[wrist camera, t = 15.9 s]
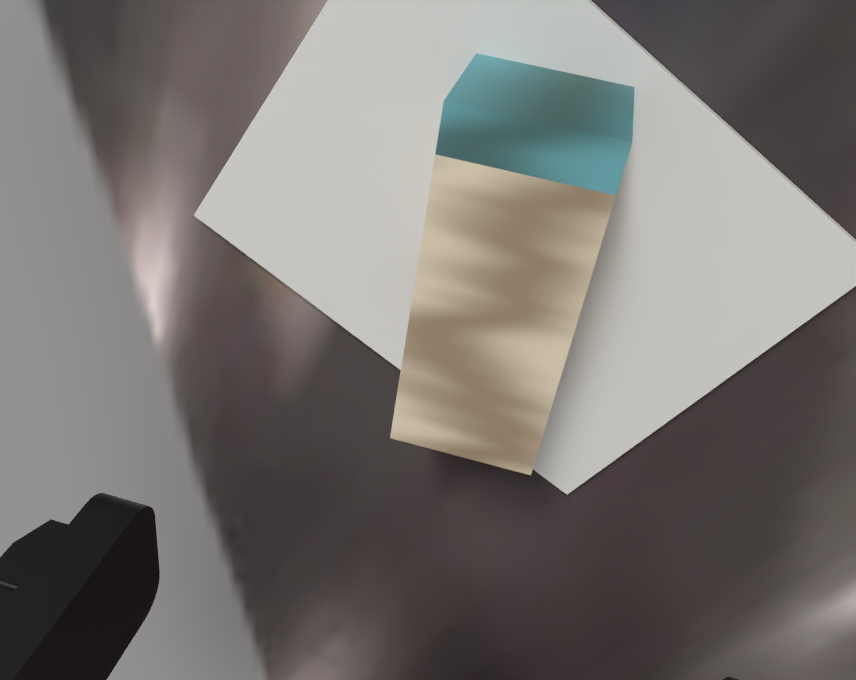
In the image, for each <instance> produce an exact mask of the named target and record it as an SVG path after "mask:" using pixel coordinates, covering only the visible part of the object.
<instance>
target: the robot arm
mask: <svg viewBox="0 0 856 680" xmlns="http://www.w3.org/2000/svg"><path fill="white" fill-rule="evenodd" d="M158 584H159V561H158V549H157V537H156V524H155V514H154V511H153V509H152V508H151V507H149V506H146V505H142V504H139V503H135V502H132V501H129V500H125V499H122V498H118V497H115V496H111V495H108V494H104V493H100V494H97V495H95V496H93V497H92V498H91V499H90V500H89V501H88V502H87V503H86V504H85V505H84V507H83V508H82V509H81V510H80V512H79V513H78V514H77V515H76V516H75V518H74V519H73V520H72V521H71V522H70V524H69V525H68V524H64V523H61V522H57V521H54V520H49V521H48V522H46V523H45V524H43V525H41V526H40V527H38V528H37V529H35V530H33V531H32V532H30V533H28V534H27V535H25V536H24V537H22V538H20V539H19V540H17V541H15V542H14V543H13V544H12V545H11V546H10V547H9V548H8V549H7V551H6V552H5V553H4V554H3V555H2V556H1V557H0V680H106V679H107V678H108V676H109V675H110V673H111V672H112V670H113V669H114V667H115V665H116V664H117V662H118V660H119V659H120V658H121V656H122V654H123V653H124V651H125V650H126V648H127V647H128V645H129V643H130V642H131V640H132V639H133V637H134V636H135V634H136V632H137V631H138V629H139V628H140V626H141V624H142V623H143V621H144V620H145V618H146V616H147V615H148V613H149V611H150V609H151V606H152V604H153V601H154V599H155V596H156V593H157V589H158ZM723 680H738V679H734V678H731V677H726V678H725V679H723Z"/></svg>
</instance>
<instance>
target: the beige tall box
mask: <svg viewBox="0 0 856 680" xmlns="http://www.w3.org/2000/svg"><path fill="white" fill-rule="evenodd" d="M634 89H635V87H632V86H628V85H623V84H618V83H614V82H609V81H604V80H600V79H595V78H590V77H585V76H581V75H576V74H571V73H567V72H562V71H557V70H553V69H548V68H543V67H539V66H534V65H529V64H525V63H520V62H515V61H511V60H506V59H501V58H497V57H492V56H487V55H483V54H478V53H476V54H475V56H474V57H473V59H472V60H471V62H470V63H469V64H468V66H467V67H466V69H465V70H464V72H463V73H462V75H461V76H460V78H459V79H458V81H457V82H456V83H455V85H454V86H453V88H452V89H451V91H450V92H449V94H448V95H447V97H446V98H445V100H444V102H443V108H442V115H441V121H440V127H439V133H438V140H437V146H436V152H435V159H434V165H433V171H432V178H431V184H430V190H429V196H428V203H427V209H426V215H425V222H424V228H423V234H422V240H421V247H420V253H419V259H418V266H417V272H416V278H415V285H414V291H413V297H412V303H411V310H410V316H409V322H408V329H407V335H406V341H405V347H404V354H403V360H402V366H401V373H400V379H399V385H398V392H397V398H396V404H395V410H394V417H393V423H392V429H391V436H390V438H392V439H396V440H399V441H403V442H407V443H411V444H414V445H418V446H422V447H426V448H430V449H433V450H437V451H441V452H445V453H448V454H452V455H456V456H460V457H463V458H467V459H471V460H475V461H479V462H482V463H486V464H490V465H494V466H497V467H501V468H505V469H509V470H512V471H516V472H520V473H524V474H527V475H531V473H532V470H533V467H534V463H535V460H536V457H537V454H538V450H539V447H540V444H541V440H542V437H543V434H544V431H545V427H546V424H547V421H548V417H549V414H550V411H551V408H552V404H553V401H554V398H555V394H556V391H557V388H558V385H559V381H560V378H561V375H562V371H563V368H564V365H565V362H566V358H567V355H568V352H569V348H570V345H571V342H572V339H573V335H574V332H575V329H576V325H577V322H578V319H579V316H580V312H581V309H582V306H583V302H584V299H585V296H586V293H587V289H588V286H589V283H590V279H591V276H592V273H593V270H594V266H595V263H596V260H597V256H598V253H599V250H600V247H601V243H602V240H603V237H604V233H605V230H606V227H607V224H608V220H609V217H610V214H611V210H612V207H613V204H614V201H615V197H616V194H617V191H618V187H619V184H620V181H621V178H622V174H623V171H624V168H625V164H626V161H627V158H628V155H629V151H630V148H631V145H632V136H633V112H634Z"/></svg>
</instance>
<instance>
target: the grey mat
mask: <svg viewBox="0 0 856 680" xmlns="http://www.w3.org/2000/svg"><path fill="white" fill-rule="evenodd" d="M476 53H478V54H483V55H487V56H492V57H497V58H501V59H506V60H511V61H515V62H520V63H525V64H529V65H534V66H539V67H543V68H548V69H553V70H557V71H562V72H567V73H571V74H576V75H581V76H585V77H590V78H595V79H600V80H604V81H609V82H614V83H618V84H623V85H628V86H632V87H635V89H634V112H633V136H632V145H631V148H630V151H629V155H628V158H627V161H626V164H625V168H624V171H623V174H622V178H621V181H620V184H619V187H618V191H617V194H616V197H615V201H614V204H613V207H612V210H611V214H610V217H609V220H608V224H607V227H606V230H605V233H604V237H603V240H602V243H601V247H600V250H599V253H598V256H597V260H596V263H595V266H594V270H593V273H592V276H591V279H590V283H589V286H588V289H587V293H586V296H585V299H584V302H583V306H582V309H581V312H580V316H579V319H578V322H577V325H576V329H575V332H574V335H573V339H572V342H571V345H570V348H569V352H568V355H567V358H566V362H565V365H564V368H563V371H562V375H561V378H560V381H559V385H558V388H557V391H556V394H555V398H554V401H553V404H552V408H551V411H550V414H549V417H548V421H547V424H546V427H545V431H544V434H543V437H542V440H541V444H540V447H539V450H538V454H537V457H536V460H535V463H534V467H533V470H535V471H536V472H537V473H539V474H540V475H541V476H543V477H544V478H545V479H547V480H548V481H549V482H551V483H552V484H553V485H555V486H556V487H557V488H559V489H560V490H561V491H563V492H564V493H565V494H569V493H570V492H571V491H573V490H574V489H576V488H577V487H578V486H580V485H581V484H582V483H584V482H585V481H587V480H588V479H589V478H591V477H592V476H594V475H595V474H596V473H598V472H599V471H600V470H602V469H603V468H605V467H606V466H607V465H609V464H610V463H612V462H613V461H614V460H616V459H617V458H618V457H620V456H621V455H623V454H624V453H625V452H627V451H628V450H629V449H631V448H632V447H634V446H635V445H636V444H638V443H639V442H641V441H642V440H643V439H645V438H646V437H647V436H649V435H650V434H652V433H653V432H654V431H656V430H657V429H659V428H660V427H661V426H663V425H664V424H665V423H667V422H668V421H670V420H671V419H672V418H674V417H675V416H676V415H678V414H679V413H681V412H682V411H683V410H685V409H686V408H688V407H689V406H690V405H692V404H693V403H694V402H696V401H697V400H699V399H700V398H701V397H703V396H704V395H706V394H707V393H708V392H710V391H711V390H712V389H714V388H715V387H717V386H718V385H719V384H721V383H722V382H724V381H725V380H726V379H728V378H729V377H730V376H732V375H733V374H735V373H736V372H737V371H739V370H740V369H741V368H743V367H744V366H746V365H747V364H748V363H750V362H751V361H753V360H754V359H755V358H757V357H758V356H759V355H761V354H762V353H764V352H765V351H766V350H768V349H769V348H771V347H772V346H773V345H775V344H776V343H777V342H779V341H780V340H782V339H783V338H784V337H786V336H787V335H788V334H790V333H791V332H793V331H794V330H795V329H797V328H798V327H800V326H801V325H802V324H804V323H805V322H806V321H808V320H809V319H811V318H812V317H813V316H815V315H816V314H818V313H819V312H820V311H822V310H823V309H824V308H826V307H827V306H829V305H830V304H831V303H833V302H834V301H835V300H837V299H838V298H840V297H841V296H842V295H844V294H845V293H847V292H848V291H849V290H851V289H852V288H853V287H855V286H856V240H855V239H854V238H853V237H852V236H851V235H850V234H849V233H848V232H847V231H846V230H844V229H843V228H842V227H841V226H840V225H839V224H838V223H837V222H836V221H834V220H833V219H832V218H831V217H830V216H829V215H828V214H827V213H826V212H824V211H823V210H822V209H821V208H820V207H819V206H818V205H817V204H816V203H815V202H813V201H812V200H811V199H810V198H809V197H808V196H807V195H806V194H805V193H803V192H802V191H801V190H800V189H799V188H798V187H797V186H796V185H795V184H794V183H792V182H791V181H790V180H789V179H788V178H787V177H786V176H785V175H784V174H782V173H781V172H780V171H779V170H778V169H777V168H776V167H775V166H774V165H773V164H771V163H770V162H769V161H768V160H767V159H766V158H765V157H764V156H763V155H761V154H760V153H759V152H758V151H757V150H756V149H755V148H754V147H753V146H751V145H750V144H749V143H748V142H747V141H746V140H745V139H744V138H743V137H742V136H740V135H739V134H738V133H737V132H736V131H735V130H734V129H733V128H732V127H730V126H729V125H728V124H727V123H726V122H725V121H724V120H723V119H722V118H721V117H719V116H718V115H717V114H716V113H715V112H714V111H713V110H712V109H711V108H709V107H708V106H707V105H706V104H705V103H704V102H703V101H702V100H701V99H699V98H698V97H697V96H696V95H695V94H694V93H693V92H692V91H691V90H690V89H688V88H687V87H686V86H685V85H684V84H683V83H682V82H681V81H680V80H678V79H677V78H676V77H675V76H674V75H673V74H672V73H671V72H670V71H669V70H667V69H666V68H665V67H664V66H663V65H662V64H661V63H660V62H659V61H657V60H656V59H655V58H654V57H653V56H652V55H651V54H650V53H649V52H648V51H646V50H645V49H644V48H643V47H642V46H641V45H640V44H639V43H638V42H636V41H635V40H634V39H633V38H632V37H631V36H630V35H629V34H628V33H626V32H625V31H624V30H623V29H622V28H621V27H620V26H619V25H618V24H617V23H615V22H614V21H613V20H612V19H611V18H610V17H609V16H608V15H607V14H605V13H604V12H603V11H602V10H601V9H600V8H599V7H598V6H597V5H596V4H594V3H593V2H592V1H591V0H328V1H327V3H326V4H325V6H324V8H323V9H322V11H321V12H320V14H319V16H318V17H317V19H316V20H315V22H314V24H313V25H312V27H311V28H310V30H309V32H308V33H307V35H306V36H305V38H304V40H303V41H302V43H301V44H300V46H299V48H298V49H297V51H296V52H295V54H294V56H293V57H292V59H291V60H290V62H289V64H288V65H287V67H286V68H285V70H284V72H283V73H282V75H281V76H280V78H279V80H278V81H277V83H276V85H275V86H274V88H273V89H272V91H271V93H270V94H269V96H268V97H267V99H266V101H265V102H264V104H263V105H262V107H261V109H260V110H259V112H258V113H257V115H256V117H255V118H254V120H253V121H252V123H251V125H250V126H249V128H248V129H247V131H246V133H245V134H244V136H243V137H242V139H241V141H240V142H239V144H238V145H237V147H236V149H235V150H234V152H233V153H232V155H231V157H230V158H229V160H228V161H227V163H226V165H225V166H224V168H223V169H222V171H221V173H220V174H219V176H218V177H217V179H216V181H215V182H214V184H213V185H212V187H211V189H210V190H209V192H208V193H207V195H206V197H205V198H204V200H203V201H202V203H201V205H200V206H199V208H198V209H197V211H196V213H195V214H194V216H195V217H197V218H198V219H199V220H201V221H202V222H203V223H205V224H206V225H207V226H209V227H210V228H211V229H213V230H214V231H215V232H217V233H218V234H219V235H221V236H222V237H223V238H225V239H226V240H227V241H229V242H230V243H231V244H233V245H234V246H235V247H237V248H238V249H239V250H241V251H242V252H243V253H245V254H246V255H247V256H249V257H250V258H251V259H253V260H254V261H255V262H257V263H258V264H259V265H261V266H262V267H263V268H265V269H266V270H267V271H269V272H270V273H271V274H273V275H274V276H275V277H277V278H278V279H279V280H281V281H282V282H283V283H285V284H286V285H287V286H289V287H290V288H291V289H293V290H294V291H295V292H297V293H298V294H299V295H301V296H302V297H303V298H305V299H306V300H308V301H309V302H310V303H312V304H313V305H314V306H316V307H317V308H318V309H320V310H321V311H322V312H324V313H325V314H326V315H328V316H329V317H330V318H332V319H333V320H334V321H336V322H337V323H338V324H340V325H341V326H342V327H344V328H345V329H346V330H348V331H349V332H350V333H352V334H353V335H354V336H356V337H357V338H358V339H360V340H361V341H362V342H364V343H365V344H366V345H368V346H369V347H370V348H372V349H373V350H374V351H376V352H377V353H378V354H380V355H381V356H382V357H384V358H385V359H386V360H388V361H389V362H390V363H392V364H393V365H394V366H396V367H397V368H398V369H400V370H401V366H402V360H403V354H404V347H405V341H406V335H407V329H408V322H409V316H410V310H411V303H412V297H413V291H414V285H415V278H416V272H417V266H418V259H419V253H420V247H421V240H422V234H423V228H424V222H425V215H426V209H427V203H428V196H429V190H430V184H431V178H432V171H433V165H434V159H435V152H436V146H437V140H438V133H439V127H440V121H441V115H442V108H443V102H444V100H445V98H446V97H447V95H448V94H449V92H450V91H451V89H452V88H453V86H454V85H455V83H456V82H457V81H458V79H459V78H460V76H461V75H462V73H463V72H464V70H465V69H466V67H467V66H468V64H469V63H470V62H471V60H472V59H473V57H474V56H475V54H476Z"/></svg>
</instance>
